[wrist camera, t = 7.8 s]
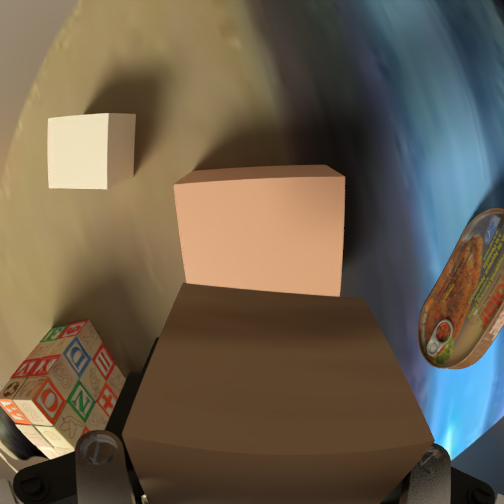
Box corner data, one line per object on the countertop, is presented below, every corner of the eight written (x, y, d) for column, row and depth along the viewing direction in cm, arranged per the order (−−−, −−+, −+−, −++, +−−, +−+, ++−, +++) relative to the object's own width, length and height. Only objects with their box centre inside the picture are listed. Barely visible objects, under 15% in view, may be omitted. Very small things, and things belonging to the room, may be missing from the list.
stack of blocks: (176, 442, 37) (160, 519, 25) (138, 444, 37) (118, 514, 26) (88, 317, 29) (29, 401, 18) (50, 326, 30) (-8, 399, 18)
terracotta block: (193, 170, 24) (173, 184, 18) (324, 164, 23) (345, 176, 18) (205, 287, 28) (194, 328, 22) (322, 282, 27) (337, 322, 22)
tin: (478, 196, 24) (538, 224, 16) (497, 210, 24) (554, 240, 16) (405, 330, 29) (438, 387, 21) (426, 337, 29) (460, 390, 22)
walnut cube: (182, 282, 10) (121, 434, 5) (363, 298, 10) (434, 440, 5) (186, 404, 12) (161, 528, 7) (324, 413, 13) (345, 534, 7)
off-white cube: (82, 117, 22) (48, 118, 17) (136, 114, 22) (108, 113, 17) (81, 175, 24) (48, 188, 19) (134, 176, 24) (107, 189, 19)
